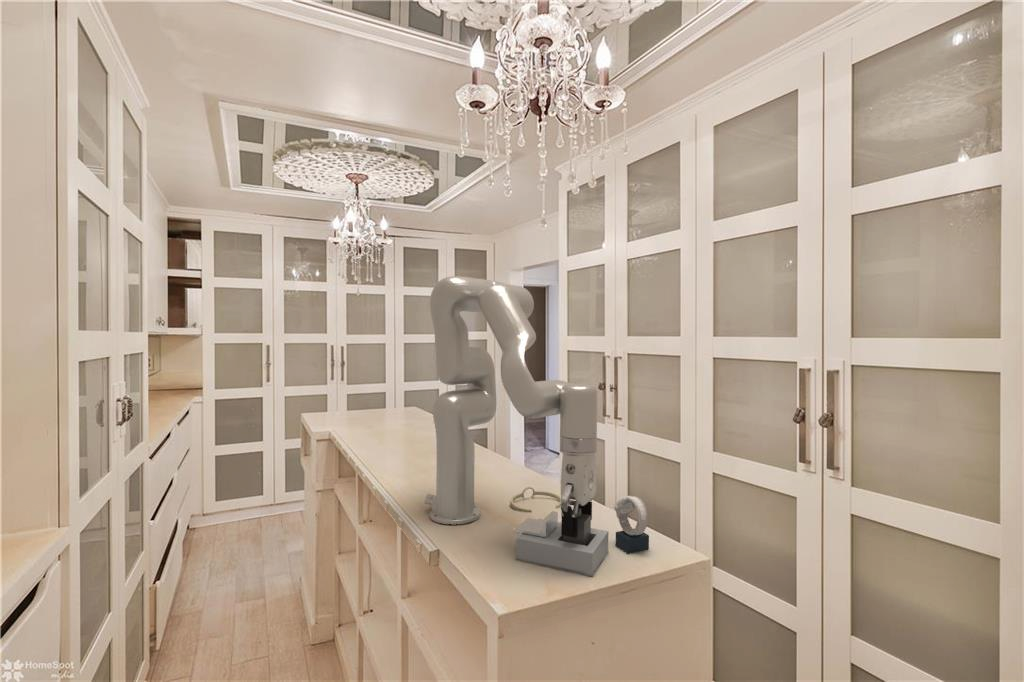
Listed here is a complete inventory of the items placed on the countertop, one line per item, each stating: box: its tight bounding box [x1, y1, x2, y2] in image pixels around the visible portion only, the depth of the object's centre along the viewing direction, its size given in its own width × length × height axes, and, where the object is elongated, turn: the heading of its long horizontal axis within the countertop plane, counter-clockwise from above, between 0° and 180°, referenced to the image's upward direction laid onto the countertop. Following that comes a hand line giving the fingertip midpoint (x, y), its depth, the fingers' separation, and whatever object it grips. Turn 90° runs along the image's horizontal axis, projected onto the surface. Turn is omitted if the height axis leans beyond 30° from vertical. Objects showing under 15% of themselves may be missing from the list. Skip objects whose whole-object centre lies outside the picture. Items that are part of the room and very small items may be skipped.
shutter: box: [514, 510, 559, 537], centre depth 107 cm, size 7×7×3 cm
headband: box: [510, 486, 561, 513], centre depth 136 cm, size 15×4×10 cm
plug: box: [563, 508, 592, 546], centre depth 103 cm, size 4×4×10 cm
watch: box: [614, 495, 650, 555], centre depth 109 cm, size 6×8×11 cm
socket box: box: [515, 518, 609, 578], centre depth 105 cm, size 16×12×4 cm
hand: (577, 527), depth 103 cm, fingers open, 9 cm apart
